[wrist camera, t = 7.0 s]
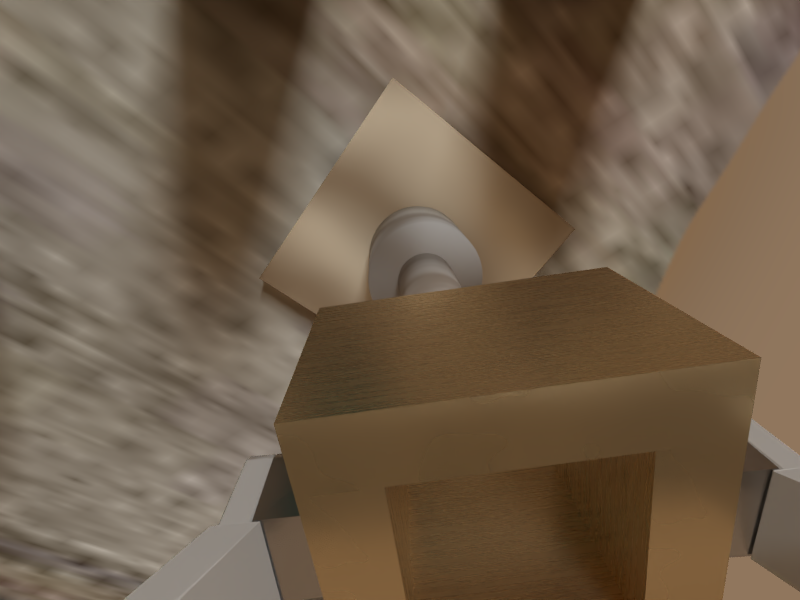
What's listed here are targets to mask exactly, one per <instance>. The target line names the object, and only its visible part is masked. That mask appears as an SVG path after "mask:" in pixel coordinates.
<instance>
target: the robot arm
mask: <svg viewBox="0 0 800 600" xmlns="http://www.w3.org/2000/svg"><path fill="white" fill-rule="evenodd" d="M742 556H751V559H752V560H754V561H755V562H756V563H758V564H759V565H761V566H762V567H764V568H765V569H767V570H768V571H770V572H771V573H773V574H774V575H776V576H777V577H779V578H780V579H782V580H783V581H785V582H786V583H788V584H789V585H791V586H792V587H794V588H795V589H797V590H798V591H800V455H798V454H797V453H796V452H795V451H793V450H792V449H791V448H789V447H788V446H787V445H785V444H784V443H783V442H781V441H780V440H779V439H777V438H776V437H775V436H774V435H772V434H771V433H770V432H768V431H767V430H766V429H764V428H763V427H762V426H760V425H759V424H758V423H757V422H755V421H754V420H753V419H751V425H750V431H749V437H748V443H747V449H746V456H745V462H744V468H743V474H742V480H741V487H740V493H739V499H738V505H737V511H736V518H735V524H734V530H733V536H732V543H731V549H730V555H729V557H742ZM320 597H323V596H322V592H321V588H320V585H319V581H318V578H317V574H316V571H315V567H314V564H313V560H312V557H311V553H310V550H309V546H308V543H307V539H306V536H305V532H304V529H303V525H302V522H301V518H300V515H299V511H298V508H297V504H296V501H295V497H294V494H293V490H292V486H291V483H290V479H289V476H288V472H287V469H286V465H285V462H284V458H283V455H282V454H277V455H274V454H273V455H262V456H251V457H250V458H249V459H248V460H247V461H246V462H245V464H244V467H243V469H242V471H241V474H240V476H239V478H238V481H237V483H236V485H235V488H234V490H233V492H232V495H231V497H230V499H229V502H228V504H227V506H226V509H225V511H224V513H223V516H222V518H221V520H220V523H219V525H217V526H210V527H209V528H207V529H206V530H205V531H204V532H203V533H201V534H200V535H199V536H198V537H197V538H196V539H194V540H193V541H192V542H191V543H190V544H189V545H187V546H186V547H185V548H184V549H183V550H181V551H180V552H179V553H178V554H177V555H176V556H174V557H173V558H172V559H171V560H170V561H168V562H167V563H166V564H165V565H164V566H163V567H161V568H160V569H159V570H158V571H157V572H155V573H154V574H153V575H152V576H151V577H150V578H148V579H147V580H146V581H145V582H144V583H142V584H141V585H140V586H139V587H138V588H137V589H135V590H134V591H133V592H132V593H131V594H130V595H128V596H127V597H126V598H125V599H124V600H304V599H312V598H320Z"/></svg>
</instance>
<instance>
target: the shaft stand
mask: <svg viewBox="0 0 800 600" xmlns="http://www.w3.org/2000/svg"><path fill="white" fill-rule="evenodd" d="M574 230H575V229H574V228H573V227H572V226H571V225H570V224H568V223H567V222H566V221H565V220H564V219H562V218H561V217H560V216H559V215H558V214H556V213H555V212H554V211H553V210H552V209H550V208H549V207H548V206H547V205H546V204H544V203H543V202H542V201H541V200H540V199H538V198H537V197H536V196H535V195H534V194H532V193H531V192H530V191H529V190H527V189H526V188H525V187H524V186H523V185H521V184H520V183H519V182H518V181H517V180H515V179H514V178H513V177H512V176H511V175H509V174H508V173H507V172H506V171H505V170H503V169H502V168H501V167H500V166H499V165H497V164H496V163H495V162H494V161H493V160H491V159H490V158H489V157H488V156H487V155H485V154H484V153H483V152H482V151H480V150H479V149H478V148H477V147H476V146H474V145H473V144H472V143H471V142H470V141H468V140H467V139H466V138H465V137H464V136H462V135H461V134H460V133H459V132H458V131H456V130H455V129H454V128H453V127H452V126H450V125H449V124H448V123H447V122H446V121H444V120H443V119H442V118H441V117H439V116H438V115H437V114H436V113H435V112H433V111H432V110H431V109H430V108H429V107H427V106H426V105H425V104H424V103H423V102H421V101H420V100H419V99H418V98H417V97H415V96H414V95H413V94H412V93H411V92H409V91H408V90H407V89H406V88H405V87H403V86H402V85H401V84H400V83H399V82H397V81H396V80H395V79H394V78H392V79H391V81H390V82H389V84H388V85H387V87H386V88H385V90H384V91H383V93H382V95H381V96H380V98H379V99H378V101H377V102H376V104H375V105H374V107H373V108H372V110H371V111H370V113H369V114H368V116H367V117H366V119H365V120H364V122H363V123H362V125H361V126H360V128H359V129H358V131H357V132H356V134H355V135H354V137H353V138H352V140H351V141H350V143H349V144H348V146H347V147H346V149H345V150H344V152H343V153H342V155H341V156H340V158H339V159H338V161H337V162H336V164H335V165H334V167H333V168H332V170H331V171H330V173H329V174H328V176H327V177H326V179H325V180H324V182H323V183H322V185H321V186H320V188H319V189H318V191H317V192H316V194H315V195H314V197H313V198H312V200H311V201H310V203H309V204H308V206H307V207H306V209H305V210H304V212H303V213H302V215H301V216H300V218H299V219H298V221H297V222H296V224H295V225H294V227H293V228H292V230H291V231H290V233H289V234H288V236H287V237H286V239H285V240H284V242H283V243H282V245H281V246H280V248H279V249H278V251H277V252H276V254H275V255H274V257H273V258H272V260H271V261H270V263H269V264H268V266H267V267H266V269H265V270H264V272H263V273H262V275H261V276H260V279H261V280H263V281H264V282H266V283H267V284H269V285H271V286H272V287H274V288H275V289H277V290H279V291H280V292H282V293H283V294H285V295H286V296H288V297H290V298H291V299H293V300H294V301H296V302H298V303H299V304H301V305H302V306H304V307H305V308H307V309H309V310H310V311H312V312H313V313H315V314H317V313H318V310H319V308H322V307H329V306H336V305H343V304H350V303H357V302H364V301H371V300H378V299H385V298H392V297H399V296H406V295H413V294H420V293H427V292H435V291H442V290H449V289H456V288H463V287H470V286H477V285H484V284H491V283H498V282H505V281H512V280H519V279H526V278H533V277H534V276H535V275H536V273H537V272H538V271H539V270H540V269H541V268H542V266H543V265H544V264H545V263H546V262H547V261H548V260H549V258H550V257H551V256H552V255H553V254H554V253H555V252H556V250H557V249H558V248H559V247H560V246H561V245H562V243H563V242H564V241H565V240H566V239H567V238H568V237H569V235H570V234H571V233H572V232H573V231H574Z"/></svg>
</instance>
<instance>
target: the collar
mask: <svg viewBox="0 0 800 600" xmlns="http://www.w3.org/2000/svg"><path fill="white" fill-rule="evenodd" d="M760 362H761V357H759V356H758V355H756V354H754V353H753V352H751V351H749V350H747V349H746V348H744V347H742V346H741V345H739V344H737V343H735V342H734V341H732V340H730V339H729V338H727V337H725V336H724V335H722V334H720V333H718V332H717V331H715V330H713V329H712V328H710V327H708V326H707V325H705V324H703V323H701V322H700V321H698V320H696V319H695V318H693V317H691V316H690V315H688V314H686V313H684V312H683V311H681V310H679V309H678V308H676V307H674V306H672V305H671V304H669V303H667V302H666V301H664V300H662V299H661V298H659V297H657V296H655V295H654V294H652V293H650V292H649V291H647V290H645V289H643V288H642V287H640V286H638V285H637V284H635V283H633V282H632V281H630V280H628V279H626V278H625V277H623V276H621V275H620V274H618V273H616V272H614V271H613V270H611V269H609V268H608V267H604V268H597V269H590V270H583V271H576V272H569V273H562V274H554V275H547V276H540V277H533V278H526V279H519V280H512V281H505V282H498V283H491V284H484V285H477V286H470V287H463V288H456V289H449V290H442V291H435V292H427V293H420V294H413V295H406V296H399V297H392V298H385V299H378V300H371V301H364V302H357V303H350V304H343V305H336V306H329V307H322V308H319V310H318V313H317V315H316V318H315V320H314V323H313V325H312V328H311V330H310V333H309V336H308V338H307V341H306V343H305V346H304V348H303V351H302V353H301V356H300V359H299V361H298V364H297V366H296V369H295V371H294V374H293V376H292V379H291V382H290V384H289V387H288V389H287V392H286V394H285V397H284V399H283V402H282V404H281V407H280V410H279V412H278V415H277V417H276V420H275V422H274V427H275V430H276V434H277V437H278V441H279V444H280V448H281V451H282V455H283V458H284V462H285V465H286V469H287V472H288V476H289V479H290V483H291V486H292V490H293V494H294V497H295V501H296V504H297V508H298V511H299V515H300V518H301V522H302V525H303V529H304V532H305V536H306V539H307V543H308V546H309V550H310V553H311V557H312V560H313V564H314V567H315V571H316V574H317V578H318V581H319V585H320V588H321V592H322V596H323V599H324V600H722V598H723V592H724V586H725V579H726V574H727V567H728V560H729V555H730V549H731V543H732V536H733V530H734V524H735V518H736V511H737V505H738V499H739V493H740V487H741V480H742V474H743V468H744V462H745V456H746V449H747V443H748V437H749V431H750V425H751V418H752V412H753V406H754V399H755V393H756V387H757V381H758V375H759V369H760Z"/></svg>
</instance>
